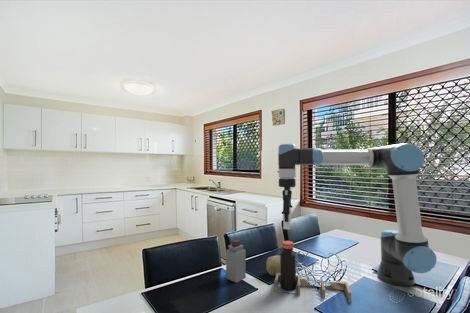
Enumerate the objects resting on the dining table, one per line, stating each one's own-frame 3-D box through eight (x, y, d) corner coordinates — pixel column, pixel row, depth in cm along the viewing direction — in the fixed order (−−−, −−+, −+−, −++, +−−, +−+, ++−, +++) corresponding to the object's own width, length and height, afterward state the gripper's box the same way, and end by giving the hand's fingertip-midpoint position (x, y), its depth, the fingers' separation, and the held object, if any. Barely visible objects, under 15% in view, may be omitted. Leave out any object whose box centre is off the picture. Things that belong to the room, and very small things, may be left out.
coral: (291, 264, 119) (272, 256, 119) (282, 283, 119) (263, 275, 119) (287, 255, 128) (269, 248, 128) (279, 272, 129) (262, 265, 129)
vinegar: (298, 289, 108) (298, 244, 108) (284, 292, 106) (284, 245, 107) (291, 282, 114) (290, 239, 115) (277, 284, 113) (277, 240, 113)
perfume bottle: (245, 277, 120) (245, 240, 121) (236, 282, 115) (236, 244, 116) (235, 273, 125) (235, 237, 125) (226, 278, 120) (226, 241, 120)
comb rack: (346, 289, 109) (346, 280, 109) (351, 302, 99) (351, 291, 99) (276, 280, 117) (276, 272, 117) (274, 291, 107) (274, 282, 107)
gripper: (280, 176, 124) (281, 218, 124) (275, 179, 100) (276, 232, 100) (296, 176, 122) (296, 219, 122) (294, 180, 98) (295, 233, 98)
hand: (287, 225), depth 111 cm, fingers open, 13 cm apart
